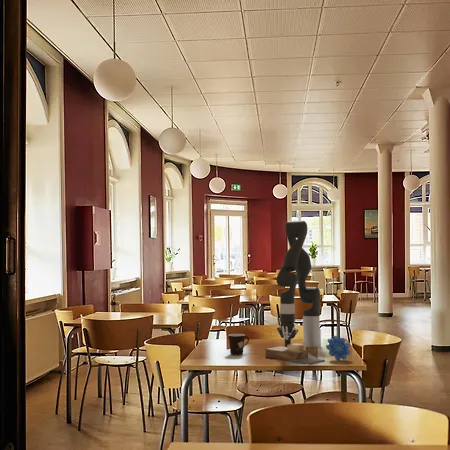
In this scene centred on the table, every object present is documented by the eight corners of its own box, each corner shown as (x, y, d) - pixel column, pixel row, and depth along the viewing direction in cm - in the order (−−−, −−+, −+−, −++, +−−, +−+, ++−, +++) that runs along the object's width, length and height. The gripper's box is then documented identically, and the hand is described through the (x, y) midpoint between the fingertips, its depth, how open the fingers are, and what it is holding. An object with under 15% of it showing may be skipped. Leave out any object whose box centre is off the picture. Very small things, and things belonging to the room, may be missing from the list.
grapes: (326, 361, 306) (326, 336, 307) (326, 359, 313) (325, 334, 313) (351, 361, 305) (350, 336, 305) (350, 359, 311) (349, 334, 312)
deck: (281, 354, 329) (281, 346, 329) (308, 358, 315) (308, 350, 315) (265, 356, 320) (265, 348, 321) (292, 361, 307) (292, 353, 307)
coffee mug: (230, 356, 323) (230, 336, 324) (226, 353, 332) (226, 334, 332) (252, 355, 326) (252, 335, 326) (248, 352, 334) (248, 333, 335)
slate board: (307, 358, 314) (307, 357, 314) (324, 361, 306) (324, 359, 306) (290, 361, 305) (290, 360, 306) (307, 364, 298) (307, 363, 298)
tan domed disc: (296, 349, 319) (296, 343, 319) (309, 351, 312) (309, 345, 312) (283, 351, 313) (283, 344, 313) (296, 353, 306) (296, 347, 306)
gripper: (302, 312, 316) (302, 347, 315) (282, 311, 326) (283, 344, 325) (292, 314, 311) (292, 349, 310) (272, 312, 321) (272, 346, 320)
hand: (287, 347), depth 317 cm, fingers closed
